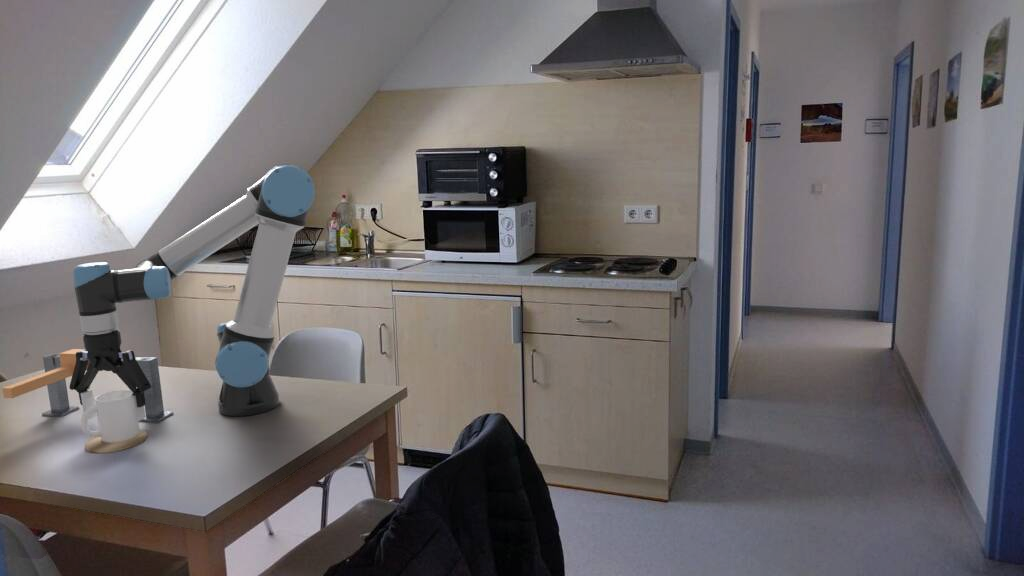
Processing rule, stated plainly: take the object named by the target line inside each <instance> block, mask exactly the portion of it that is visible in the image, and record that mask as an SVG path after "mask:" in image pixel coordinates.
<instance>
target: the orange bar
mask: <svg viewBox="0 0 1024 576" xmlns="http://www.w3.org/2000/svg"><path fill="white" fill-rule="evenodd" d="M84 349H85V348H83V349H81V348H72V349H69V350H66V351H63V352H60V353H58V354H60V355H59V356H60V363H61V367H59V368H57V369H54V370H51V371H48V372H46V373H45V372H43V373H40V374H37V375H34V376H32V377H30V378H26V379H24V380H21V381H18V382H15V383H12V384H9V385H7V386H4V387H2V388H1V389H2V394H3V398H4V399H15V398H16V397H19V396H22V395H25V394H28V393H30V392H33V391H35V390H38V389H41V388H43V387H45V386H46V387H47V385H49V384H51V383H54V382H57V381H59V380H62V379H65V380H66V379H67V378H69V377H72V375H73V371H74V367H75V364H76V352H79V351H82V350H84ZM87 368H88V366H87ZM87 368H86V371H85V372H87Z"/></svg>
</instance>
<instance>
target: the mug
mask: <svg viewBox="0 0 1024 576" xmlns="http://www.w3.org/2000/svg"><path fill="white" fill-rule="evenodd" d="M131 394H133V392H132V391H131V390H130V389H119V390H112V391H111V390H110V391H107V392H104V393H101V394H99V395H97V396H95V397H94V406H92V407H90V408H88V409H87V410H86V411H85V412H84V411H83V413H82V415H81V418H80V428H81V430H82V432H83V433H84V434H85V436H87V437H90V438H91V437H92V438H94V437H98V436H100V438H101V440H102V441H103V442H105V443H118V442H124V441H127V440H130V439H133V438H135V437H136V436H137V435H138V434H139V430H140V425H139V422H135V421H134V415H133V409H132V402H131V396H130V395H131ZM94 412H96V419H97V424H98V430H91V429H90V427H89V426H88V421H89V420H88V417H89V416H90V415H91V414H92V413H94Z"/></svg>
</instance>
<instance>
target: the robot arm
mask: <svg viewBox="0 0 1024 576" xmlns="http://www.w3.org/2000/svg"><path fill="white" fill-rule="evenodd" d="M315 195H316V189H315V184H314V181H313V178H312V176H310V174H309V173H308V172H307V171H305V169H303V168H301V167H299V166H297V165H295V164H289V163H287V164H279V165H275V166H274V167H272V168H270V169H269V170H268V171H267V173H265V175H264V176H262V177H261V179H259V180H258V181H256V182H255V183H254V184H253V185H251V186H249V187H247V189H246V193H245V195H243V196H242V197H240V198H238V199H237V200H235V201H234V202H232V203H231V204H229V205H228V206H227V207H225V208H223V209H222V210H220V211H219V212H217V213H214V215H212V216H211V217H209V218H208V219H206V220H205V221H203V222H201V223H199V224H198V225H196V226H195V227H193V228H192V229H190V230H189V231H188V232H186V233H185V234H183V235H182V236H180V237H178V238H177V239H175V240H174V241H172V242H170V243H168V244H167V245H166V246H165V247H162V248H161V249H160V250H158V251H157V252H155V253H154V254H152V255H150V256H149V257H147V258H145V259H143V260H142V261H140V262H138V263H137V264H136V266H134V268H129V269H128V268H126V269H117V270H115V269H112V268H111V267H110V263H109V262H105V261H97V262H96V261H95V262H88V263H82V264H78V265H75V267H74V268H73V269H72V276H73V284H74V285H73V289H74V292H75V298H76V303H77V307H78V315H79V321H80V322H79V323H80V328H81V332H83V335H82V339H83V345H84V346H83V347H84V348H83V349H84V350H82V351H79V352H76V364H75V367H74V371H73V375H72V376H71V380H70V383H69V389H70V391H76V392H77V393H78V398H79V399H78V400H79V404H80V405H81V406H82V410H83V413H84V412H85V411H86V410H87V409H88V408H90V407H92V406H94V405H95V398H94V395H93V389H91V385H92V383H93V382H94V379H95V378H96V376H97V375H98V373H99V372H103V371H104V372H105V371H106V372H112V373H113V374H114V375H115V374H116V376H118V378H120V380H121V381H122V382H123V383H124V384H125V386H126V387H127V388H128V390H131V391H132V392H133V394H131V395H130V396H131V402H132V409H133V415H134V421H135V422H138V423H139V422H142V421H141V420H142V419H144V418H145V415H146V412H145V396H144V391H146V390H148V389H150V388H151V385H150V383H149V381H148V379H147V378H146V376H145V374H144V373H143V371H142V369H141V368H140V366H139V364H138V363H137V361H136V359H135V357H136V356H135V352H134V350H133V349H129V350H126V351H122V350H121V345H122V342H123V341H122V336H121V331H120V329H119V328H118V327H119V319H118V311H117V305H116V304H122V303H130V302H131V303H132V302H140V301H141V302H143V301H150V300H151V301H157V300H161V299H168V298H169V297H170V296H171V295H172V281H173V280H175V279H176V278H177V277H179V276H180V275H182V274H183V273H185V272H187V271H188V270H190V269H192V267H194V266H196V265H197V264H198V263H201V262H202V261H203V260H204V259H206V258H208V257H210V256H211V255H212V254H214V253H216V252H217V251H219V250H220V249H222V248H223V247H225V246H226V245H228V244H229V243H231V242H233V241H234V240H236V239H238V238H239V237H240V236H242V235H244V234H245V233H247V232H248V231H250V230H251V229H253V228H254V227H256V226H257V225H258V228H257V231H256V234H255V235H256V236H255V238H254V242H253V246H252V250H251V253H250V258H249V261H248V265H247V269H246V272H245V277H244V280H243V285H242V288H241V291H240V295H239V298H238V303H237V306H236V309H235V314H234V317H233V319H232V320H230V321H227V322H223V323H220V324H219V325H218V326H217V328H216V329H217V333H216V336H217V338H218V351H217V355H216V358H215V361H214V362H215V364H214V365H215V369H216V371H217V374H218V377H220V379H221V380H222V384H221V387H220V393H219V397H218V401H217V405H218V412H219V413H220V414H221V415H225V416H228V417H229V416H231V417H243V416H244V417H245V416H252V415H258V414H262V413H266V412H269V411H271V410H273V409H274V408H277V406H279V404H280V395H279V392H278V390H277V388H276V385H275V384H274V381H273V379H272V377H271V374H270V364H269V363H270V359H269V358H270V355H271V352H272V347H273V343H274V339H275V336H276V334H275V332H274V331H273V329H272V327H271V326H272V323H273V319H274V315H275V311H276V308H277V303H278V301H279V297H280V292H281V289H282V287H283V281H284V278H285V274H286V271H287V266H288V263H289V259H290V255H291V252H292V249H293V248H292V247H293V244H294V240H295V237H296V234H297V232H299V231H300V230H302V229H304V228H305V226H306V222H307V218H308V213H309V211H310V207H311V206H312V204H313V203H314V200H315V197H316V196H315ZM88 359H89V360H90V361H91V363H90V364H89V366H88V368H87V364H88ZM118 365H119V367H118ZM86 368H87V371H86ZM96 417H97V412H94V413H92V414H91V415H90V416H89V417H88V420H87V421H89V420H91V419H93V418H96Z"/></svg>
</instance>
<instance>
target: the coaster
mask: <svg viewBox="0 0 1024 576" xmlns="http://www.w3.org/2000/svg"><path fill="white" fill-rule="evenodd" d="M147 438H148V434H147V432H146V431H144V430H141V429H139V434H138V435H137V436H136V437H135V438H133V439H130V440H127V441H124V442H118V443H105V442H103V441H102V440H101V438H100V436H98V437H92V438H90V439H88V440H87V441H86V442H85V443H84V450H85V451H86V452H89V453H94V454H106V453H107V454H108V453H115V452H120V451H123V450H127V449H130V448H133V447H136V446H138V445H140V444H142V443H143V442H145V441H146V440H147Z"/></svg>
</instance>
